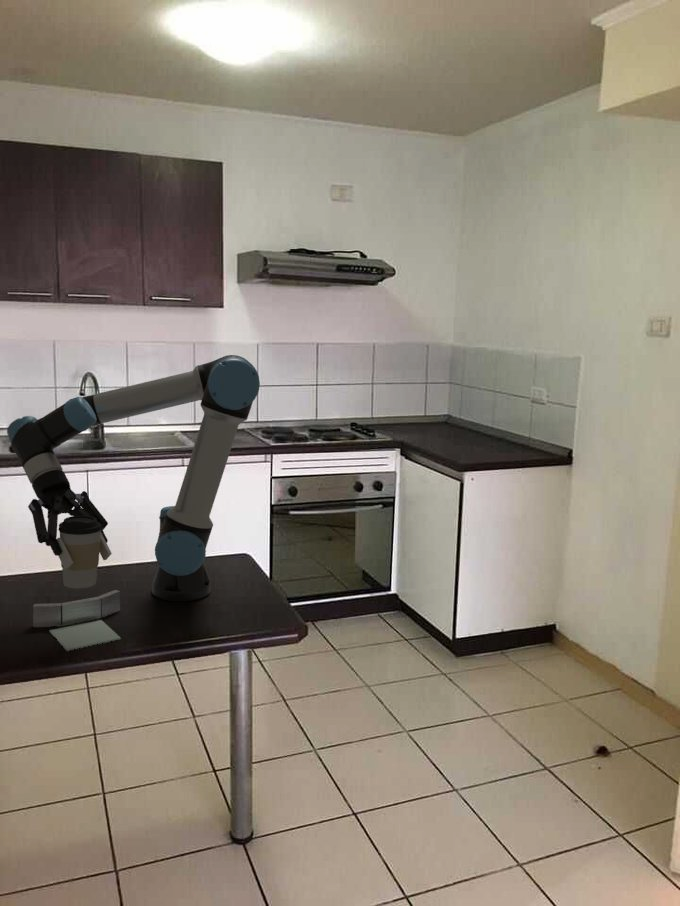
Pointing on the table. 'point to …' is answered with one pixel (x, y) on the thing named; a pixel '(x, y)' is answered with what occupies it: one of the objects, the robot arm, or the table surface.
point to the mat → (84, 635)
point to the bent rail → (76, 610)
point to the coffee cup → (81, 550)
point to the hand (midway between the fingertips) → (88, 561)
